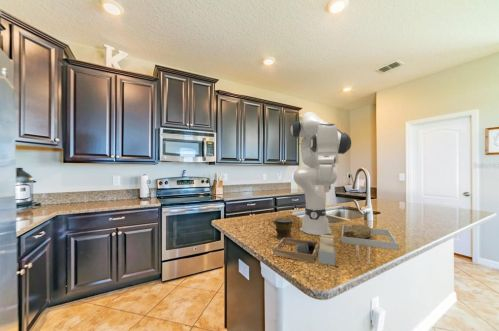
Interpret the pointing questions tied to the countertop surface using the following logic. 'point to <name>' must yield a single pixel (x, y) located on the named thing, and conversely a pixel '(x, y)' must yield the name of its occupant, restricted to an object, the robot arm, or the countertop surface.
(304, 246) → the chocolate cake
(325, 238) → the maple block
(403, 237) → the countertop surface
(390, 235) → the grey square frame
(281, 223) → the ceramic cup
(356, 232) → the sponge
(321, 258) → the slate block
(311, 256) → the oak cake frame
